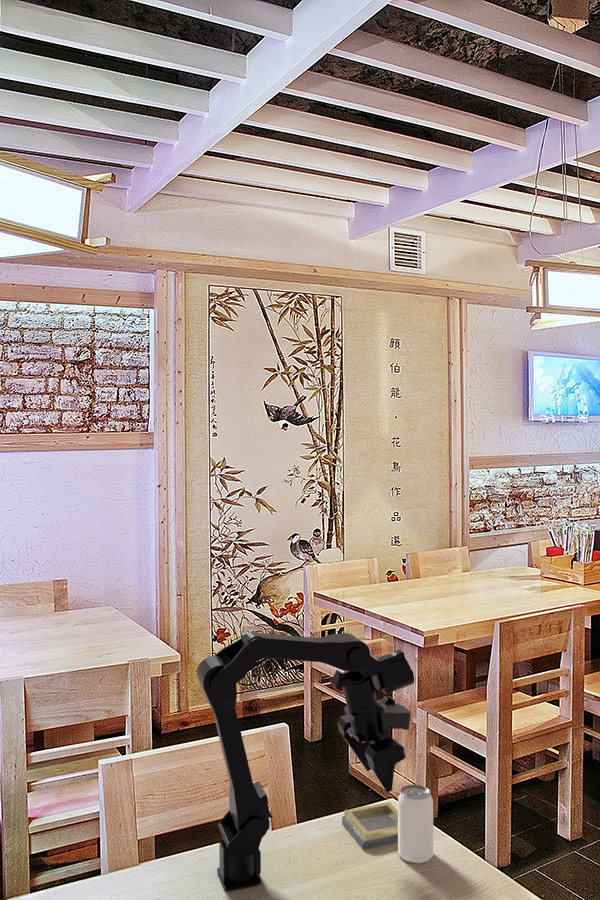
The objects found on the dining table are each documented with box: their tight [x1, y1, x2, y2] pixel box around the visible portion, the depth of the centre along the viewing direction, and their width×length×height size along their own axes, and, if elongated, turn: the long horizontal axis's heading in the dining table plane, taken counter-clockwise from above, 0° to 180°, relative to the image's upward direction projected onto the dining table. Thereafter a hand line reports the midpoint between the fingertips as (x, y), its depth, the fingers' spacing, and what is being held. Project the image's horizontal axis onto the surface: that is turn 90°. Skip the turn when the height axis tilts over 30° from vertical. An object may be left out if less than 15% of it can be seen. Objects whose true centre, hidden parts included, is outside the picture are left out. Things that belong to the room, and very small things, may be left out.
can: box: [397, 784, 434, 865], centre depth 141 cm, size 6×6×12 cm
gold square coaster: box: [341, 801, 398, 850], centre depth 150 cm, size 11×10×3 cm
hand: (378, 780), depth 142 cm, fingers open, 9 cm apart
